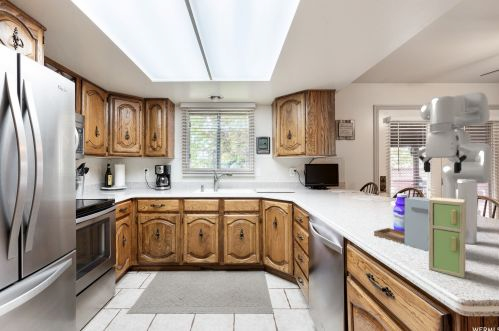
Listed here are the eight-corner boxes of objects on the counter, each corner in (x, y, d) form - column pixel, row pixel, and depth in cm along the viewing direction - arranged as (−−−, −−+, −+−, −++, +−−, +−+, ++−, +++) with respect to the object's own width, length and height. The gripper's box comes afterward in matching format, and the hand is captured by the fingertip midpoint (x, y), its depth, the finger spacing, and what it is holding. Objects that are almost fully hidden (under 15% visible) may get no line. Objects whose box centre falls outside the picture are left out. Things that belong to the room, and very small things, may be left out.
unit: (415, 241, 95) (416, 196, 95) (452, 250, 84) (453, 200, 84) (403, 244, 90) (403, 198, 90) (440, 255, 80) (441, 203, 80)
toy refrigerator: (427, 270, 69) (427, 199, 69) (431, 262, 74) (432, 196, 74) (463, 279, 63) (464, 202, 63) (465, 271, 69) (466, 199, 68)
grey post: (455, 237, 99) (456, 178, 99) (477, 241, 94) (477, 179, 94) (454, 241, 94) (454, 179, 94) (476, 245, 90) (477, 180, 90)
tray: (387, 232, 107) (387, 227, 107) (414, 239, 97) (414, 234, 97) (374, 235, 102) (374, 231, 102) (401, 243, 92) (401, 238, 92)
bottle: (390, 229, 111) (390, 193, 111) (400, 228, 112) (400, 192, 112) (404, 234, 104) (404, 195, 104) (414, 233, 105) (414, 194, 105)
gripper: (475, 126, 86) (474, 173, 87) (421, 132, 101) (421, 171, 102) (466, 125, 83) (465, 173, 83) (412, 131, 98) (412, 172, 98)
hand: (441, 172), depth 92 cm, fingers open, 9 cm apart
